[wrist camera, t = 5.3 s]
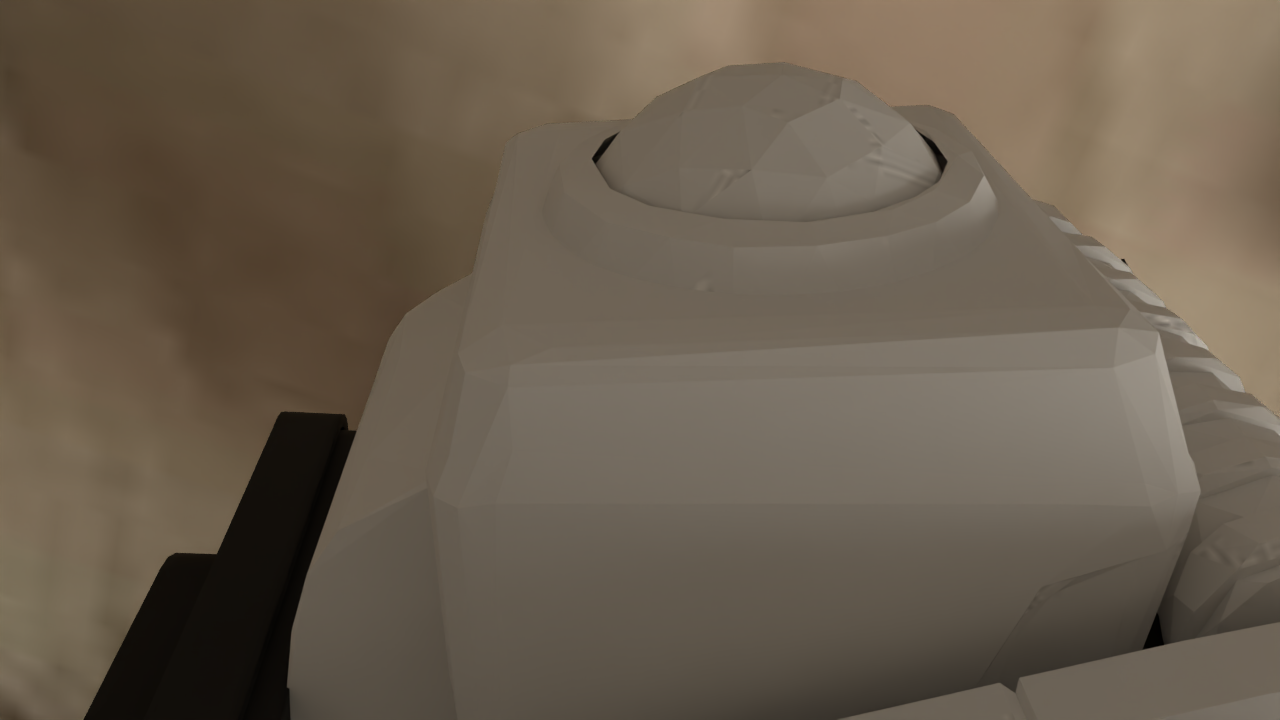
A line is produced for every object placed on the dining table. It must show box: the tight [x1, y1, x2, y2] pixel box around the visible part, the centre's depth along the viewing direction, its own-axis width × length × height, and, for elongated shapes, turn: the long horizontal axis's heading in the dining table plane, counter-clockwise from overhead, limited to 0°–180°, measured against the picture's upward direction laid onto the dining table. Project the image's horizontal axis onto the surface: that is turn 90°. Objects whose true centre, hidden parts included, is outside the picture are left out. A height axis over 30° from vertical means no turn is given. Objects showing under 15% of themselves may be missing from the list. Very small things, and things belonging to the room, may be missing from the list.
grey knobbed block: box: [287, 62, 1280, 720], centre depth 9 cm, size 6×7×10 cm
